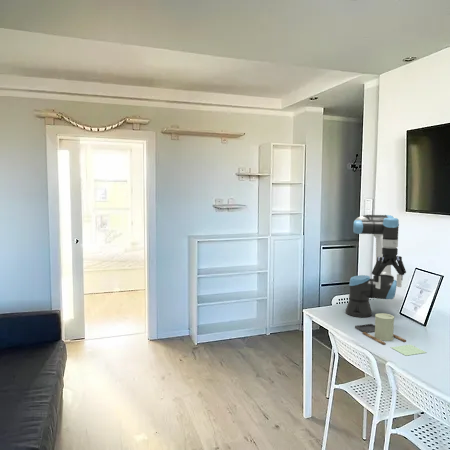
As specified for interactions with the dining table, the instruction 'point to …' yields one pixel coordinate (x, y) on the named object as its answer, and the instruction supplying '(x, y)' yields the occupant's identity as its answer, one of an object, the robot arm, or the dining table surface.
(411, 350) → the mat
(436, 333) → the dining table surface
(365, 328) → the tray
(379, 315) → the can
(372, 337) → the lane
